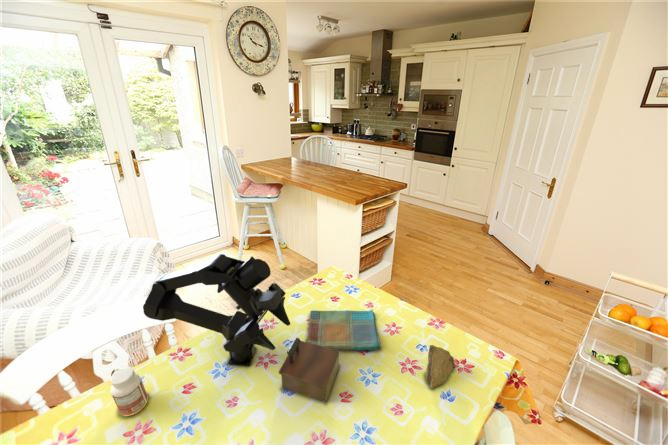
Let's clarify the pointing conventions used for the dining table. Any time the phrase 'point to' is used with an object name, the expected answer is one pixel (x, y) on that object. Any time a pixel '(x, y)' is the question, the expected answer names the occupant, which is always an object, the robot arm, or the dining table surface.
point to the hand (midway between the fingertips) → (282, 336)
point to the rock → (438, 366)
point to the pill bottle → (128, 391)
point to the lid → (309, 363)
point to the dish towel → (344, 330)
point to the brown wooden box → (310, 386)
